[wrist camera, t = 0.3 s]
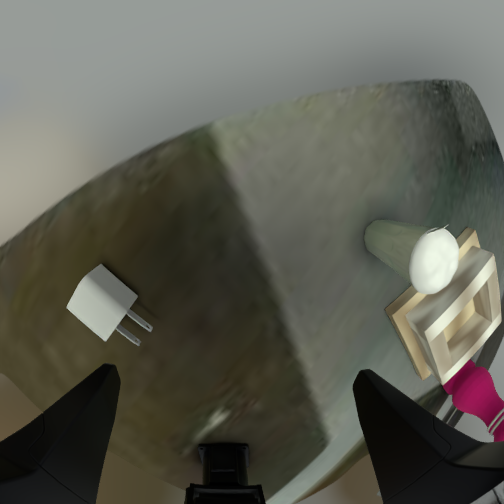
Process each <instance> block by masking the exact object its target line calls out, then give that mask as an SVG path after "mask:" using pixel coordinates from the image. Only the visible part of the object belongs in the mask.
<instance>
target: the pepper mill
mask: <svg viewBox="0 0 504 504" xmlns="http://www.w3.org/2000/svg"><path fill="white" fill-rule="evenodd" d="M443 388H444V390H445V391H446V392H447V393H448V394H449V395H452V394H453V395H452V402H453V404H454V406H455V407H457V408H458V409H459V410H461V411H463V412H466V413H469V414H473V415H475V416H477V417H479V418H480V419H481V420H483V422H484V423H485V424H486V426H487V427H488V428H487V432H489V433H490V435H491V436H492V435H494V442H500V441H504V401H503V400H502V399H501V398H500V397H499V396H498V394H497V392H496V390H495V387H494V383H493V380H492V377H491V375H490V373H489V372H488V371H487V370H486V369H485V368H484V367H475V363H474V362H473V361H471V360H470V359H469V360H468V361H467V362H466V363H465V364H464V365H463V366H462V368H461V369H460V370H459V371H458V372H457V373H456V374H454V375H453V376H452V377H451V378H450V379H449V380H448V381H447V382H446V383H445V384H444V385H443Z"/></svg>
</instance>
